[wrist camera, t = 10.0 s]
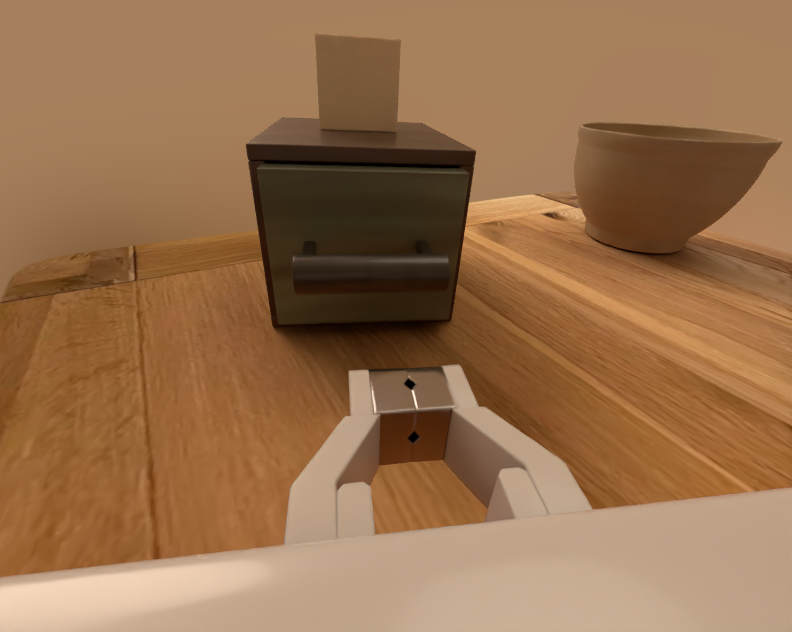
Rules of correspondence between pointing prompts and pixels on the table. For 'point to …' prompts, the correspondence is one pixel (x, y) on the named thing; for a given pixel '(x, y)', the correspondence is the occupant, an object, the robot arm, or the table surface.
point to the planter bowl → (662, 180)
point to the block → (357, 82)
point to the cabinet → (338, 146)
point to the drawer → (362, 240)
